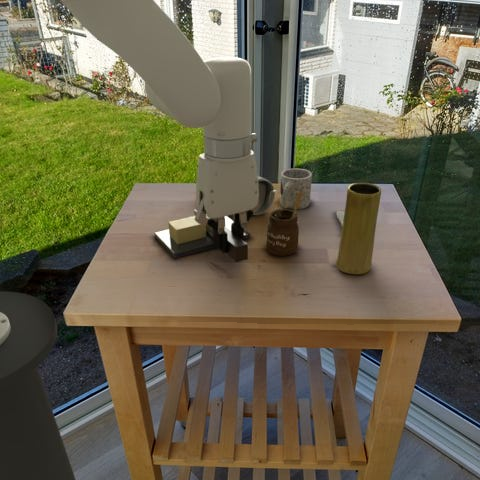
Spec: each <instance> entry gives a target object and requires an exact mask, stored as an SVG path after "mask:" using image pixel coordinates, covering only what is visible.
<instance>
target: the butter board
mask: <svg viewBox="0 0 480 480" xmlns="http://www.w3.org/2000/svg"><path fill="white" fill-rule="evenodd" d="M232 223H234V219H231V218H230V217H229V216H225V227H227V228H228V229H229V230H230V231H231V225H232ZM154 238H155V239H156V240H157V241H158V242H159V243H160V245H162V246H163V248H165V249H166V251H167V252H168V253H169V254H170V255H171V256H172V257H173V258H174V259H178V258H182V257H185V256H188V255H189V256H190V255H194V254H197V253H200V252H204V251H208V250H211V249H215V248H217V247H216V245H215V244H214V243H213V237H212V236H211V235H210V234H209V233H208V232H206V237H205V238H201V239H197V240H193V241H189V242H185V243H181V244H177V243H176V242H175V241H174V240H173V239H172V238H171V237H170V234H169V228H168V229H164V230H160V231H156V232H154ZM250 238H251V233H250V232H248V231H247V230H246V229H244V241H245V240H249V239H250Z"/></svg>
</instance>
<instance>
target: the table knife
mask: <svg viewBox="0 0 480 480" xmlns="http://www.w3.org/2000/svg"><path fill="white" fill-rule="evenodd" d="M197 210H198V209H197ZM197 210H196V209H194V210H193V216H196V213H197ZM206 232H208V233H209V234H210V235H211V236H212V237H213V243H214V244H215V233H214V229H213V228H211V227H210V226H208V225H206ZM225 232H226V233H227V235H228V241H227V242H228V252H227V253H225V254H226V255H227V256H228V257H229V258H231V260H232V261H234V262H235V263H240V262H244V261H247V260H248V259H249V244H248V243H247V241H245V240H244V241H243V240H242V239H241V238H239V237H238V236H237V235H235V234H234V233H233V232H232V231H230V230H229V229H228V228H227V227H225Z"/></svg>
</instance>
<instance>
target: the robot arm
mask: <svg viewBox="0 0 480 480" xmlns="http://www.w3.org/2000/svg"><path fill="white" fill-rule="evenodd" d="M60 2H61V3H62V4H63V5H64V6H65V8H66V9H67V10H68V11H69V12H70V14H71V15H73V17H74V18H75V19H76V21H78V22H79V24H80V25H81V26H82V27H83V28H84V29H85V30H86V31H87V32H89V33H90V34H91V36H92V37H94V38H95V39H96V40H97V41H99V42H100V43H101V44H103V45H104V46H106V47H107V48H108V49H110V50H111V51H112V52H114V53H115V54H116V55H117V56H118V57H120V59H122V60H123V61H124V62H125V63H126V64H127V65H128V66H129V67H130V68H131V69H132V70H133V71H134V72H135V73H136V74H137V75H138V76H139V78H141V79H142V80H143V82H144V91H145V94H146V97H147V99H148V101H149V102H150V105H152V106H153V107H154V108H155V109H156V110H157V111H159V112H161V113H162V114H164V115H165V116H166V117H168V118H171V119H172V120H173V121H175V122H176V123H178V124H179V125H181V126H183V127H186V128H190V129H198V128H202V134H203V135H202V137H203V152H204V153H200V154H199V156H198V160H197V161H198V162H197V168H196V169H197V170H196V182H195V183H196V187H195V190H196V191H195V199H196V200H195V201H196V207H197V213H196V216H195V221H196V222H197V223H199V224H202V225H208V226H210V227H211V228H213V229H214V233H215V245H216V248H217V249H218V250H219V251H220V252H221V253H222V254H223V255H225V254H226V253H227V252H228V242H227V241H228V235H227V233H226V232H225V216H227V217H229V216H232V217H233V221H234V223H232V225H231V231H232V232H233V233H234V234H235V235H237V236H238V237H239V238H241V239H242V240H243V241H244V242H245V240H244V230H245V228H247V226H248V222H249V221H250V219H251V218H252V217H253V216H254V215H253V214H254V213H256V212H257V211H258V210H260V209H261V207H262V205H261V203H260V201H259V199H258V197H259V187H258V176H259V174H258V167H257V160H256V155H255V152H254V151H253V150H252V148H253V145H252V144H253V143H254V142H255V143H256V142H257V141H258V135H257V133H256V132H252V68H251V65H250V63H249V62H248V60H247V59H244V58H241V57H233V56H219V57H218V56H217V57H212V58H208V59H205V60H204V59H203V58H202V57H201V54H199V52H198V51H197V49H196V48H195V47H194V45H193V44H192V43H191V41H190V40H189V38H188V37H187V36H186V35H185V34H184V32H183V31H182V30H181V29H180V28H179V26H178V25H177V24H176V23H175V22H174V21H173V20H172V19H171V18H170V16H169V15H168V14H167V13H166V12H165V11H164V10H163V8H161V7H160V6H159V5H158V3H157V2H156V1H155V0H60ZM206 214H207V216H208V217H206ZM10 329H11V326H10V322H9V320H8V318H7V317H6V315H5V314H3V313H1V312H0V345H1V344H2V343H3V342H4V341H5V340H6V338H7V337H8V335H9V333H10Z"/></svg>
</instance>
